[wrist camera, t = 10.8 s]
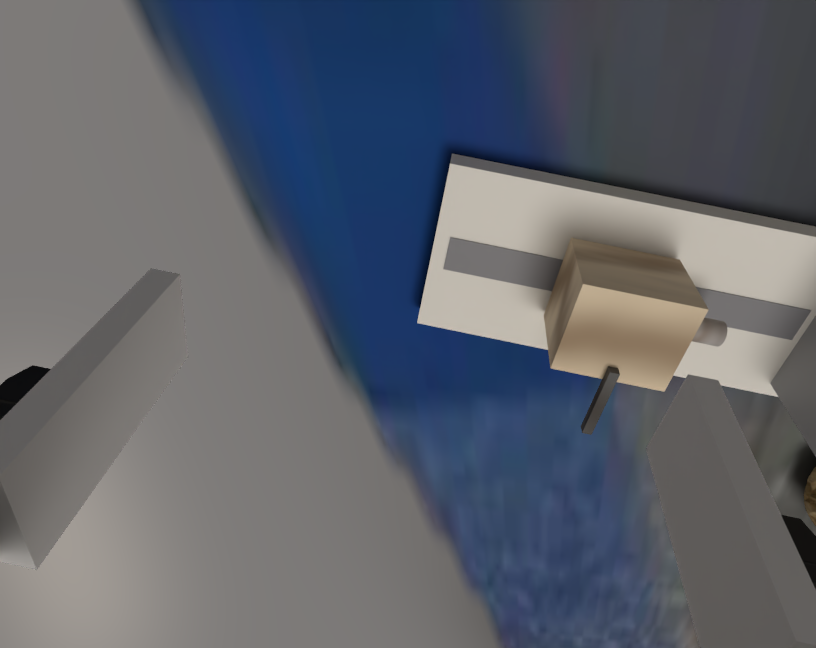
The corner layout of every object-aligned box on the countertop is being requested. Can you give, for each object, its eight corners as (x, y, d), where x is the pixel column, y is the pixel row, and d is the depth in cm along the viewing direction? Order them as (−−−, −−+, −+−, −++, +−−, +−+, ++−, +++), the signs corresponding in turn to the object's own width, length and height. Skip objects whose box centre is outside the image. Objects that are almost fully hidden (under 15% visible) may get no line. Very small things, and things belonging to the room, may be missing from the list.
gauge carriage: (571, 237, 37) (584, 289, 32) (726, 269, 37) (767, 326, 31) (527, 360, 43) (532, 422, 37) (662, 388, 42) (687, 454, 37)
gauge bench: (452, 153, 37) (440, 214, 29) (915, 246, 37) (1036, 335, 29) (420, 308, 44) (402, 394, 36) (812, 388, 44) (886, 493, 35)
